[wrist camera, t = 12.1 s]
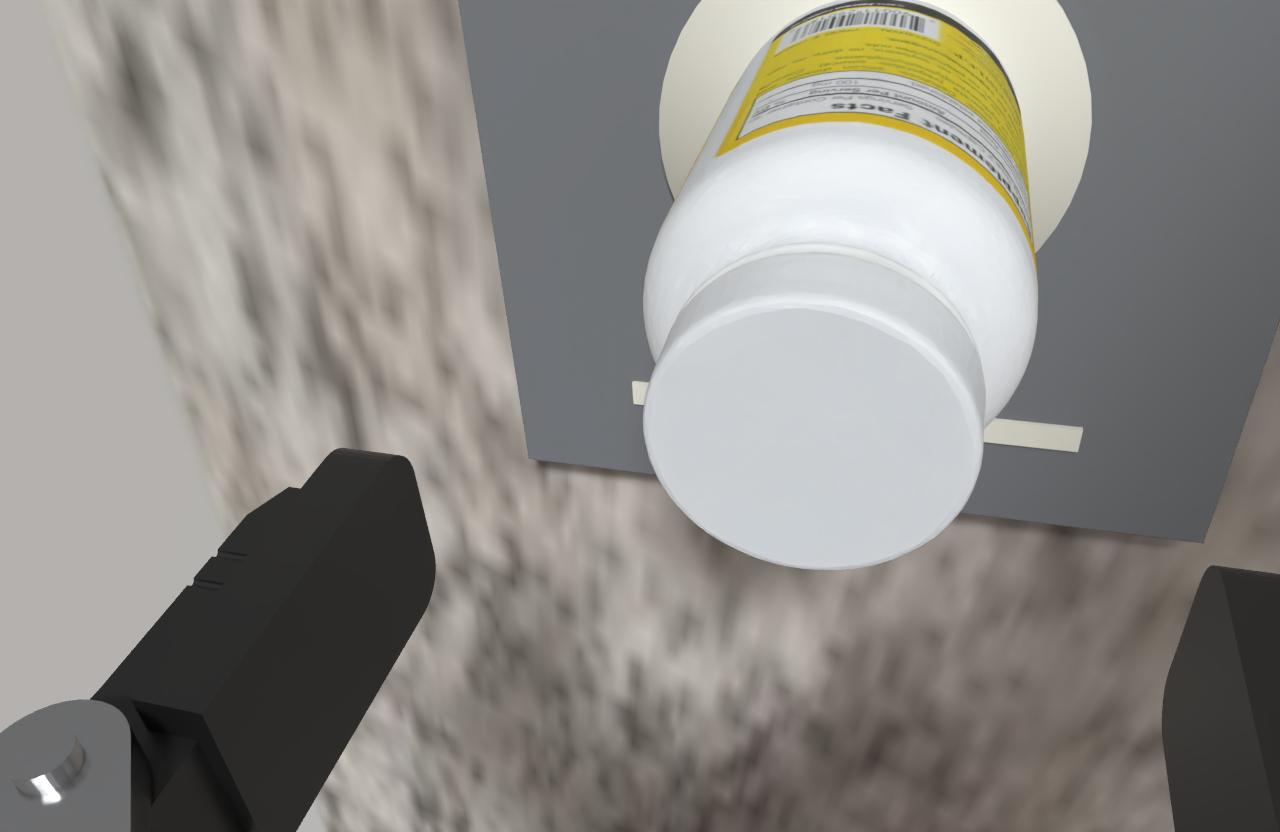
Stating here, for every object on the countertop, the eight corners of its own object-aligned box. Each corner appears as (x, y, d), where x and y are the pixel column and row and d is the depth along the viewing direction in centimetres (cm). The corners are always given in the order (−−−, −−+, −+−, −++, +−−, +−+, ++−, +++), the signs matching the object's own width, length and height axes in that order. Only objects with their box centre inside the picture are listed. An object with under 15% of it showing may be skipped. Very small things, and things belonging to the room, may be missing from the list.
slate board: (1542, -534, 14) (1582, -545, 13) (1196, 513, 24) (1205, 549, 23) (419, -423, 18) (387, -426, 17) (541, 436, 28) (526, 463, 27)
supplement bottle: (865, 313, 22) (797, 670, 14) (675, 134, 21) (493, 421, 13) (1090, 139, 19) (1155, 481, 11) (882, -84, 18) (797, 130, 10)
